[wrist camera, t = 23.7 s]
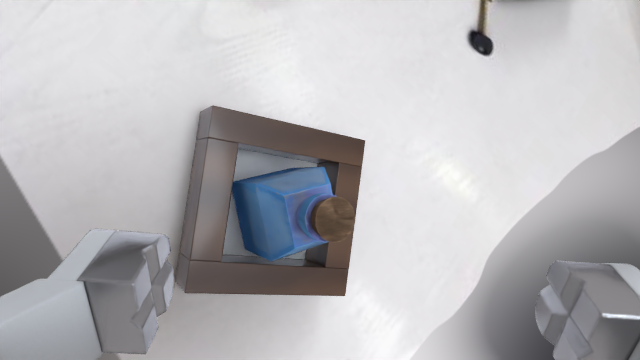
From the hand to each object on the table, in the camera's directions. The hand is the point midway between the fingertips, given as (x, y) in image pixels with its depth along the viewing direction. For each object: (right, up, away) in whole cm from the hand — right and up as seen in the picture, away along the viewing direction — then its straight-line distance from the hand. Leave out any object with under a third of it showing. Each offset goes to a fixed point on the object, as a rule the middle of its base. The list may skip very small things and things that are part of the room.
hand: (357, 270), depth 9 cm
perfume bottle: (-6, -1, +31) cm, 32 cm away
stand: (-6, 0, +31) cm, 31 cm away
